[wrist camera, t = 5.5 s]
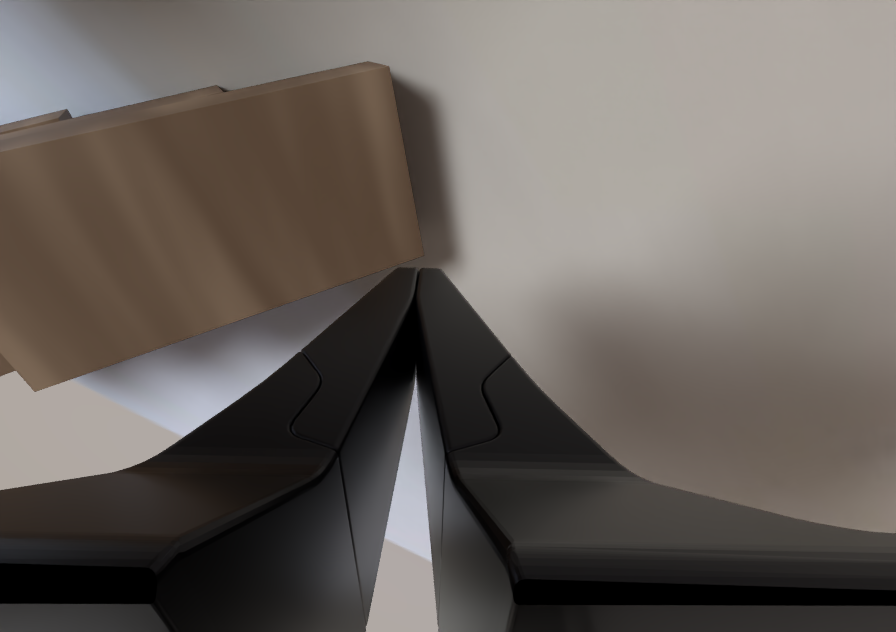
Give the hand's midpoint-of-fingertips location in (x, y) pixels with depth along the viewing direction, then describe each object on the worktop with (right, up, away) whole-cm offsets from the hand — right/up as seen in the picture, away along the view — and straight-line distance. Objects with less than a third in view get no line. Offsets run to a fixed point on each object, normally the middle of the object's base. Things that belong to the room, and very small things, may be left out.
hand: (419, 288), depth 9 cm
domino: (-1, +4, +4) cm, 5 cm away
